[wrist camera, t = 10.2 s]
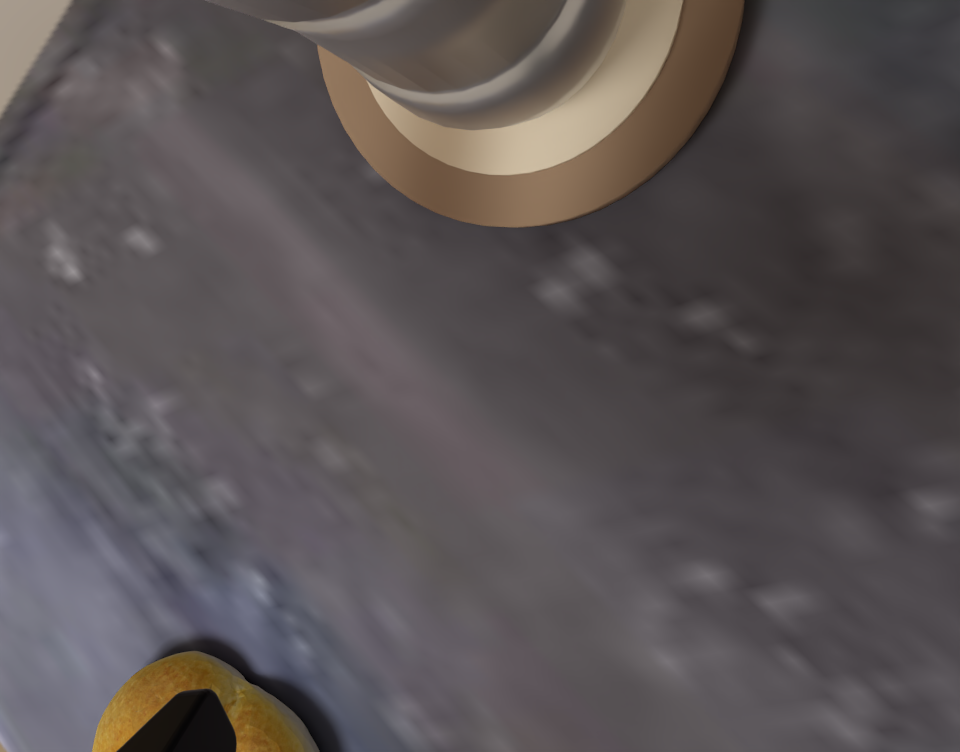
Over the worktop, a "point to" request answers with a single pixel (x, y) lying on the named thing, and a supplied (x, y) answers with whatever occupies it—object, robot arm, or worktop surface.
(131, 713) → the bread roll
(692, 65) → the tan round plate
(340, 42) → the plastic bottle
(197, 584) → the worktop surface
